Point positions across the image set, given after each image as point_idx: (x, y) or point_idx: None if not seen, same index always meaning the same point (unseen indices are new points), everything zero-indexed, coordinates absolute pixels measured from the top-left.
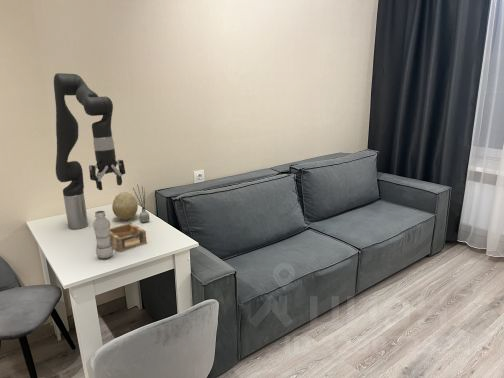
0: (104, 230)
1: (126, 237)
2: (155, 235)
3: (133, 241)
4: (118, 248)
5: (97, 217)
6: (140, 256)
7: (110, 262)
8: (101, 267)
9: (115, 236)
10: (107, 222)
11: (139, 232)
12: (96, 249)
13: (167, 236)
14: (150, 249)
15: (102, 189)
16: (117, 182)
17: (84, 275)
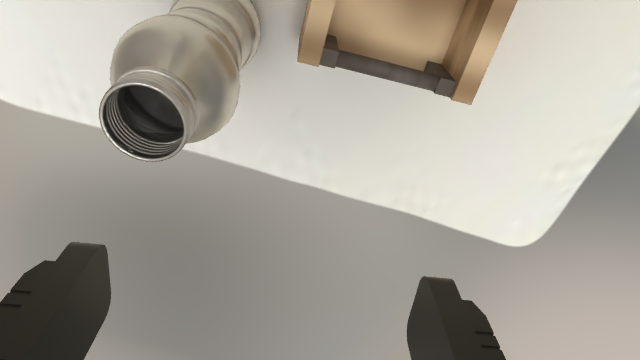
0: (173, 120)
1: (355, 64)
2: (556, 43)
3: (418, 23)
4: (300, 37)
5: (117, 122)
6: (321, 159)
7: None
8: None
9: (318, 9)
10: (195, 141)
11: (463, 54)
12: (169, 12)
13: (563, 109)
14: (398, 146)
15: (108, 308)
16: (430, 313)
17: (59, 95)
